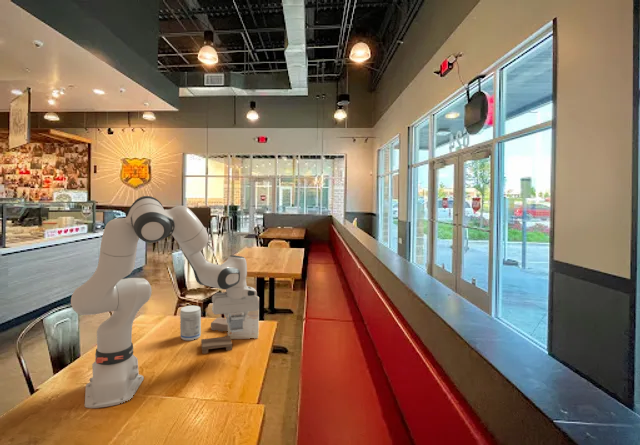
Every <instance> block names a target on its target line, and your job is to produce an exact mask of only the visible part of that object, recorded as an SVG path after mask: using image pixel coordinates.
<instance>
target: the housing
mask: <svg viewBox="0 0 640 445" xmlns="http://www.w3.org/2000/svg"><path fill="white" fill-rule="evenodd" d="M229 318H230V323H228V325H229V328H230V330H231V332H240V331H243V315H242V313H241V312H236V313H229Z"/></svg>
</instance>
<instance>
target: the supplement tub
mask: <svg viewBox="0 0 640 445" xmlns="http://www.w3.org/2000/svg"><path fill="white" fill-rule="evenodd" d="M179 312H180V314H179V320H180V321H179V322H180V332H179V333H180V335H179V336H180V339H182V340H183V341H194V339H195V340H197V339H199V338H200V337H201V334H202V328H201V327H202V322H201V321H202V319H201V318H202V311H201V306H199V305H186V306H183V307H181V308H180V311H179Z"/></svg>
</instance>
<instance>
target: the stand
mask: <svg viewBox="0 0 640 445" xmlns="http://www.w3.org/2000/svg"><path fill="white" fill-rule="evenodd" d="M200 342H201V351H202V352H201V353H202V355H203V354H204V355H205V354H209V350H213V349H221V348H225V350H226V351H232V350H233V342H232V339H231V338H230V336H228V335H227V336H226V335H225V336H218V337H210V338H202V339H201V340H200Z"/></svg>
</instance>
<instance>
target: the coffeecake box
mask: <svg viewBox="0 0 640 445" xmlns="http://www.w3.org/2000/svg"><path fill="white" fill-rule="evenodd" d="M257 297H258V300H259V301H260V297H259V296H257ZM241 313H242V315H244V312H241ZM227 317H228V318H229V313H228V316H227ZM259 320H260V308H259V309H258V310H257V311H248V314H247V315H246V317H245V321H243V331H240V332H231V330H230V328H229V325H228V332H227V336H230V338H231V340H245V339H246V340H248V339H249V340H251V339H250V338H254V339H259V331H260V330H259V329H260V324H259V323H260V322H259Z"/></svg>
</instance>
